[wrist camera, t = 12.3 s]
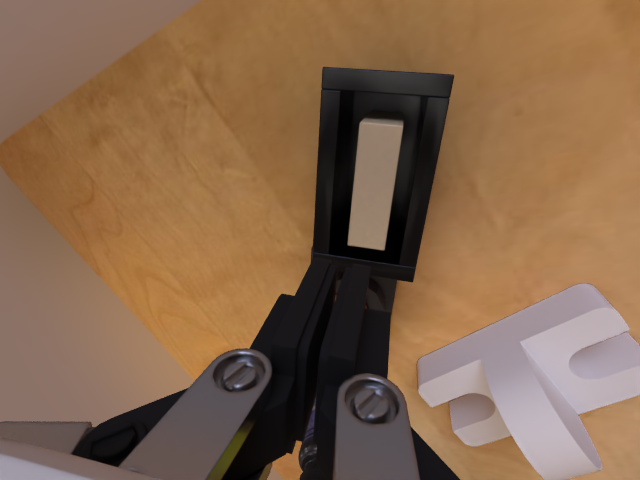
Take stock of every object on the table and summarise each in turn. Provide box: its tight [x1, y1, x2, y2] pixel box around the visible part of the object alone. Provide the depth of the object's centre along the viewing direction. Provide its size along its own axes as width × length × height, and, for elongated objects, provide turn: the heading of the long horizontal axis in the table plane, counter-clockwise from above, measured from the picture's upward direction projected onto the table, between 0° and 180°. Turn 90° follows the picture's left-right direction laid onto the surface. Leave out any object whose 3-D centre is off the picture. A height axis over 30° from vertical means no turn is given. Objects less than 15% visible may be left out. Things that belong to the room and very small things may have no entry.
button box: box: [311, 246, 397, 313], centre depth 34 cm, size 10×8×4 cm
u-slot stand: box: [417, 283, 640, 480], centre depth 30 cm, size 10×18×11 cm, turn 132°
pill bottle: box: [299, 398, 326, 480], centre depth 37 cm, size 6×6×11 cm
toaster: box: [312, 67, 454, 282], centre depth 26 cm, size 13×7×8 cm, turn 177°
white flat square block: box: [348, 111, 403, 250], centre depth 25 cm, size 2×8×8 cm, turn 177°
